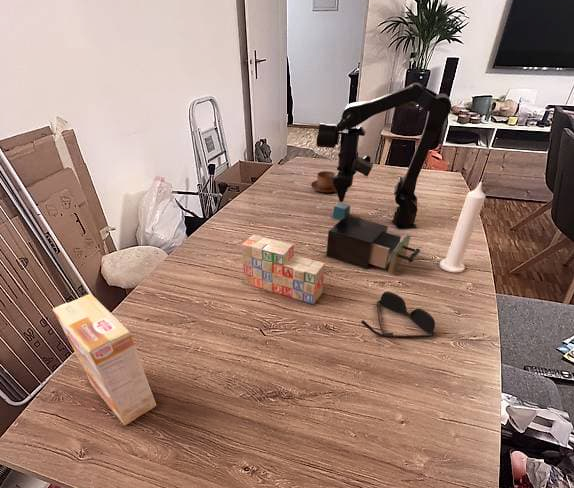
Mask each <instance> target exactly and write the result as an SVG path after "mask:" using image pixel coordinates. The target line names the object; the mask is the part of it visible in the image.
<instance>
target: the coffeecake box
mask: <svg viewBox="0 0 574 488" xmlns="http://www.w3.org/2000/svg"><path fill="white" fill-rule="evenodd" d="M52 312H53V313H54V315H55V317H56V319H57V320H58V322H59V324H60V326H61V329H62V330H63V332H64V334H65V336H66V338H67V340H68V342H69V343H70V345H71V347H72V349H73V351H74V353H75V355H76V357H77V359H78V361H79V363H80V365H81V367H82V369H83V370H84V372H85V374H86V376H87V379H88V380H89V383H90V384H91V386H92V388H93V389H94V390H95V391H96V392H97V393H98V395H99V396H100V398H101V399H102V400H103V401H104V403H106V405H107V406H108V407H109V409H111V411H112V412H113V413H114V415H115V416H116V417H117V418H118V420H119V421H120V422H121V423H122V424H123V426H127V425H128V424H130V423H132V422H133V421H135V420H136V419H137V418H139V417H141V416H142V415H144V414H145V413H147V412H149V411H150V410H152V409H155V408H156V407H157V403H156V400H155V397H154V394H153V392H152V390H151V387H150V385H149V380H148V378H147V376H146V372H145V369H144V367H143V364H142V361H141V359H140V356H139V354H138V350H137V349H136V345H135V343H134V340H133V337H132V335H131V331H129V330H128V329H127V328H126V326H124V325H123V324H122V322H120V320H118V319H117V318H116V317H115V316H114V315H113V314H112V312H110V311H109V309H107V307H106V306H104V305H103V304H102V303H101V302H100V301H99V300H98V299H97V298H96V297H95V296H94V295H93V294H92V293H89V294H86V295H84V296H81V297H79V298H77V299H74V300H72V301H69V302H64V303H63V304H60V305H57V306H56V307H53V308H52Z"/></svg>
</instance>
